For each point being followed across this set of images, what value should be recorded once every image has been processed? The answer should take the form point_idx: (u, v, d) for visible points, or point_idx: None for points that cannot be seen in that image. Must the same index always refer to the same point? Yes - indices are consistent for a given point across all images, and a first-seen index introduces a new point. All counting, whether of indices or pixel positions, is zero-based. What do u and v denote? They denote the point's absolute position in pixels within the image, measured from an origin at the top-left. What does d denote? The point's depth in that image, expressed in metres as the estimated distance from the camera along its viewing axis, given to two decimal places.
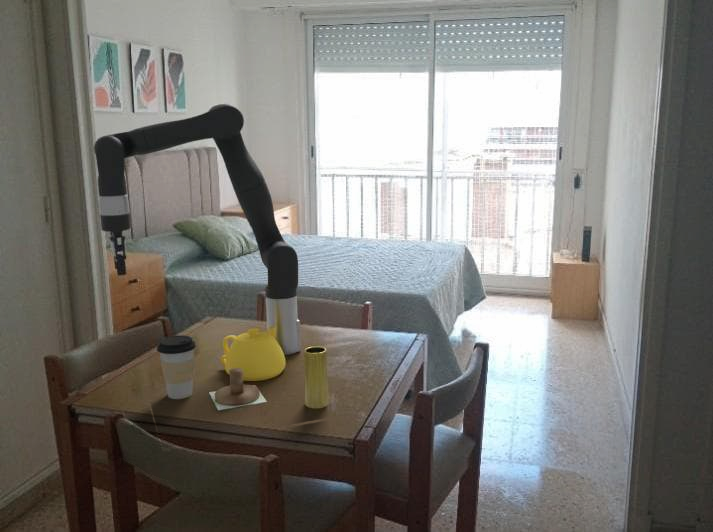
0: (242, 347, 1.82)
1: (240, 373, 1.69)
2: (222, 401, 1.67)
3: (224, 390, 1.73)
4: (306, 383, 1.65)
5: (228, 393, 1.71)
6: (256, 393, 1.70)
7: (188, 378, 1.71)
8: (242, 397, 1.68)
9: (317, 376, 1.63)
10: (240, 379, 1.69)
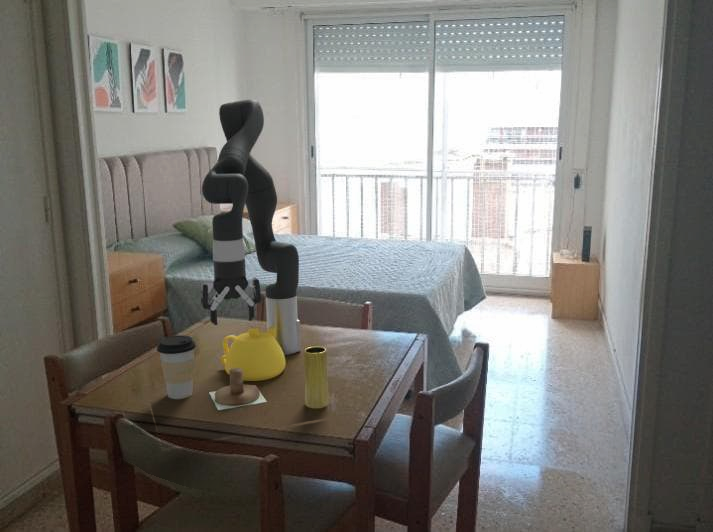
0: (242, 347, 1.82)
1: (240, 373, 1.69)
2: (222, 401, 1.67)
3: (224, 390, 1.73)
4: (306, 383, 1.65)
5: (228, 393, 1.71)
6: (256, 393, 1.70)
7: (188, 378, 1.71)
8: (242, 397, 1.68)
9: (317, 376, 1.63)
10: (240, 379, 1.69)
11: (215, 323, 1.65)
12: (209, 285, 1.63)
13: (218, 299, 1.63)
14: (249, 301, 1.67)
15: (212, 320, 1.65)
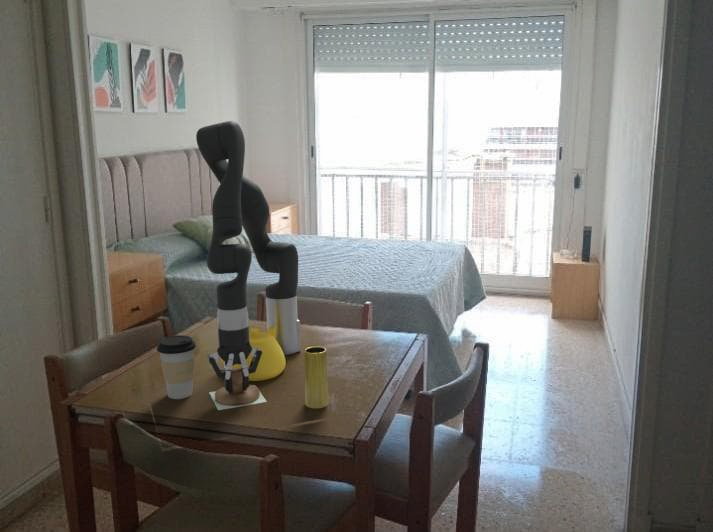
0: None
1: (240, 373, 1.69)
2: (222, 401, 1.67)
3: (224, 389, 1.73)
4: (306, 383, 1.65)
5: (228, 393, 1.71)
6: (256, 393, 1.70)
7: (188, 378, 1.71)
8: (242, 397, 1.68)
9: (317, 376, 1.63)
10: (240, 379, 1.69)
11: (230, 391, 1.69)
12: (214, 356, 1.67)
13: (228, 368, 1.67)
14: (245, 371, 1.70)
15: (227, 388, 1.69)
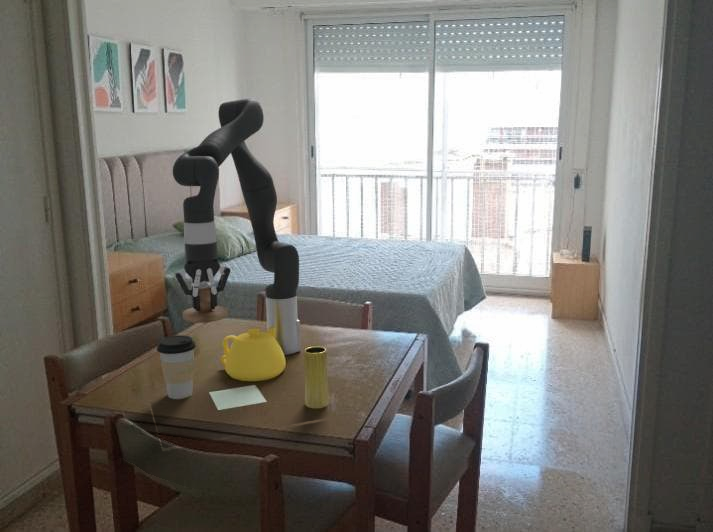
0: (242, 347, 1.82)
1: (208, 291, 1.66)
2: (189, 318, 1.63)
3: (192, 309, 1.69)
4: (306, 383, 1.65)
5: (196, 312, 1.67)
6: (225, 312, 1.67)
7: (188, 378, 1.71)
8: (210, 314, 1.65)
9: (317, 376, 1.63)
10: (208, 297, 1.66)
11: (197, 309, 1.66)
12: (181, 272, 1.63)
13: (195, 284, 1.64)
14: (213, 288, 1.66)
15: (194, 306, 1.66)
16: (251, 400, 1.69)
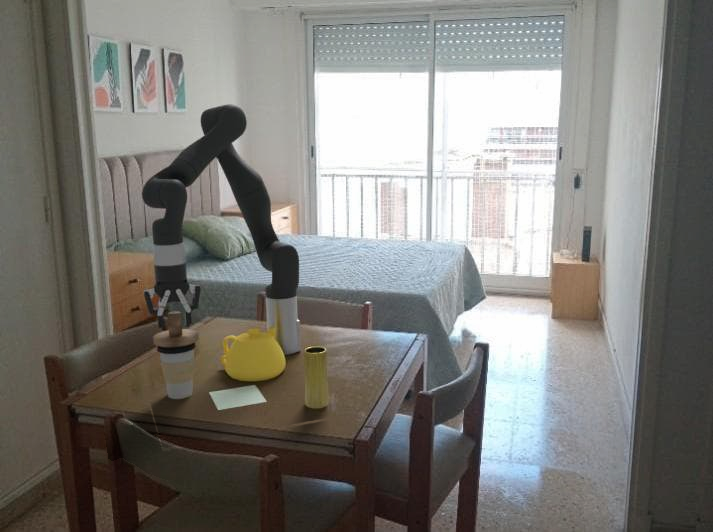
0: (242, 348, 1.82)
1: (178, 315, 1.69)
2: (159, 343, 1.66)
3: (164, 333, 1.72)
4: (306, 383, 1.65)
5: (166, 336, 1.70)
6: (194, 336, 1.70)
7: (188, 378, 1.71)
8: (180, 339, 1.68)
9: (317, 376, 1.63)
10: (178, 321, 1.69)
11: (162, 328, 1.68)
12: (150, 291, 1.66)
13: (162, 304, 1.66)
14: (186, 307, 1.69)
15: (159, 325, 1.68)
16: (251, 400, 1.69)
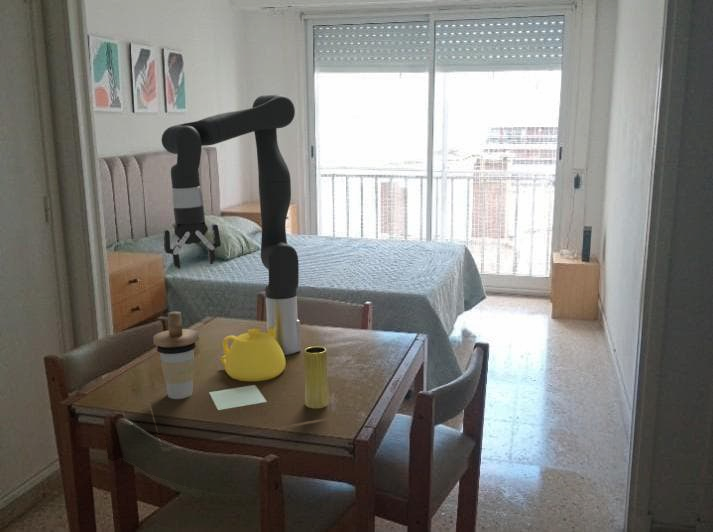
0: (242, 348, 1.82)
1: (178, 315, 1.69)
2: (159, 343, 1.66)
3: (164, 333, 1.72)
4: (306, 383, 1.65)
5: (166, 336, 1.70)
6: (195, 336, 1.70)
7: (188, 378, 1.71)
8: (180, 339, 1.68)
9: (317, 376, 1.63)
10: (178, 321, 1.69)
11: (178, 266, 1.77)
12: (171, 231, 1.75)
13: (180, 244, 1.76)
14: (209, 245, 1.79)
15: (175, 264, 1.77)
16: (251, 400, 1.69)
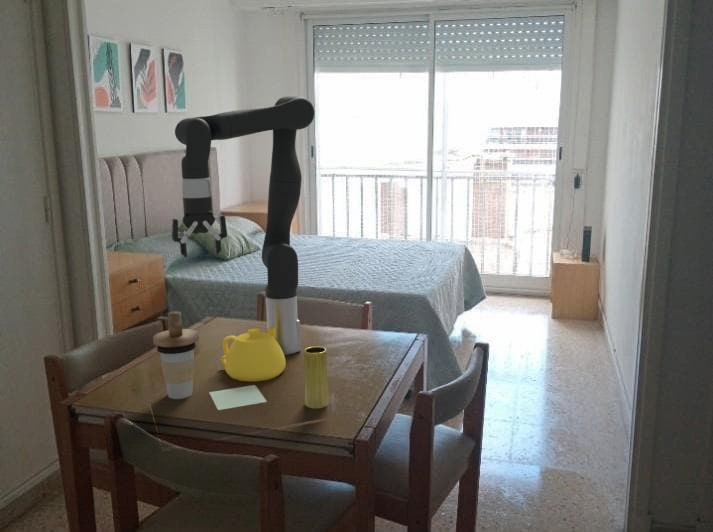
0: (242, 348, 1.82)
1: (178, 315, 1.69)
2: (159, 343, 1.66)
3: (164, 333, 1.72)
4: (306, 383, 1.65)
5: (166, 336, 1.70)
6: (195, 336, 1.70)
7: (188, 378, 1.71)
8: (180, 339, 1.68)
9: (317, 376, 1.63)
10: (178, 321, 1.69)
11: (185, 255, 1.82)
12: (179, 220, 1.80)
13: (187, 233, 1.80)
14: (216, 236, 1.84)
15: (182, 252, 1.82)
16: (251, 400, 1.69)
